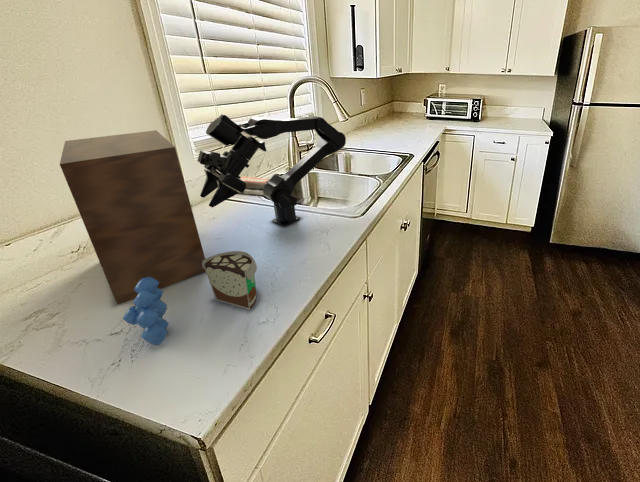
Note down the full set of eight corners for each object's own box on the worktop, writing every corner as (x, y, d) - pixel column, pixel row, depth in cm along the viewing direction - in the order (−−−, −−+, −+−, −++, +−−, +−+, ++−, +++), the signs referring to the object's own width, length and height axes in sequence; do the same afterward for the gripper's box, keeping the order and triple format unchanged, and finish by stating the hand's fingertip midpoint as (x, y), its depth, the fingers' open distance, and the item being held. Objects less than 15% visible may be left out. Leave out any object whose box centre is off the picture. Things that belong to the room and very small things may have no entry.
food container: (275, 292, 74) (268, 255, 70) (255, 311, 68) (246, 271, 65) (232, 282, 78) (223, 245, 74) (210, 298, 72) (200, 260, 69)
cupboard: (185, 233, 100) (156, 130, 88) (208, 270, 82) (175, 146, 70) (110, 256, 89) (64, 141, 77) (117, 304, 71) (59, 164, 59)
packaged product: (227, 181, 130) (244, 173, 139) (229, 192, 131) (246, 184, 140) (266, 184, 125) (281, 176, 134) (268, 196, 127) (283, 187, 136)
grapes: (137, 323, 66) (117, 273, 61) (176, 310, 69) (160, 262, 64) (127, 366, 56) (104, 311, 52) (174, 349, 59) (155, 296, 55)
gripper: (204, 133, 93) (169, 178, 90) (224, 144, 80) (184, 197, 77) (238, 154, 101) (207, 197, 98) (261, 168, 88) (226, 217, 85)
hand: (205, 201), depth 89 cm, fingers open, 9 cm apart
